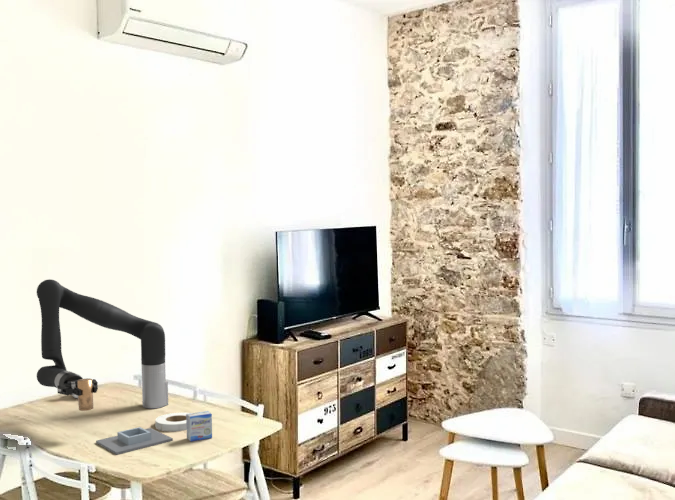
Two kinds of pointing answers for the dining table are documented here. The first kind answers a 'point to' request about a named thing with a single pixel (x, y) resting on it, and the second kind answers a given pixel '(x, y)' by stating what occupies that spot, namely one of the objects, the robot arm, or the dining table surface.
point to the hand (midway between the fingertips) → (87, 391)
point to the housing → (133, 440)
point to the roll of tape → (171, 422)
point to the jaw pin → (85, 394)
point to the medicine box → (199, 426)
